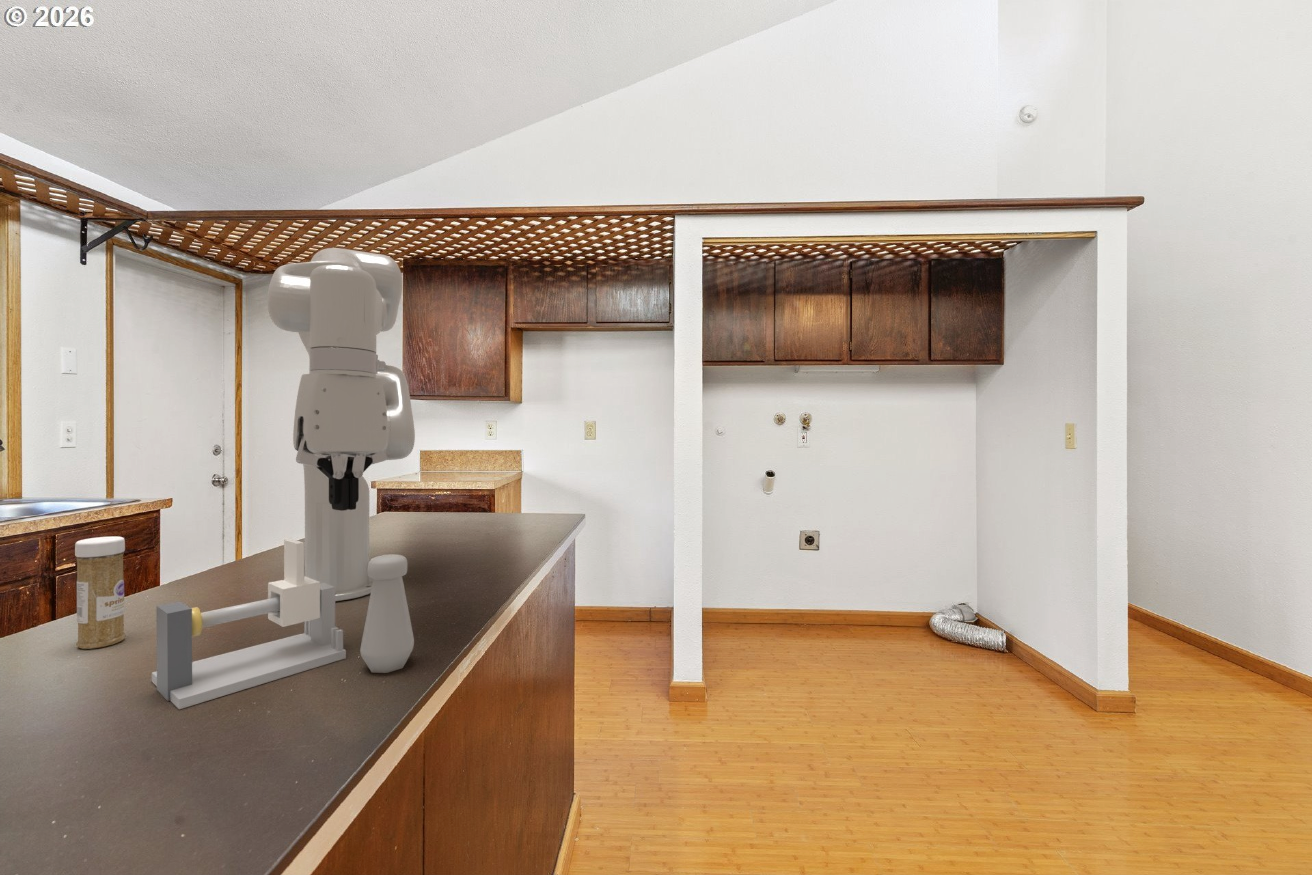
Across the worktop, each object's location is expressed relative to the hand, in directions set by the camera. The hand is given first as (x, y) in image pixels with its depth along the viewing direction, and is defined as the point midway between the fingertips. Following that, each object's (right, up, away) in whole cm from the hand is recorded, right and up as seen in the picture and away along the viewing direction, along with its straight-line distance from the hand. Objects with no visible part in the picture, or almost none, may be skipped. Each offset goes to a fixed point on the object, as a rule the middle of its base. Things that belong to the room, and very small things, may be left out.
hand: (343, 508), depth 73 cm
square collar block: (-4, -13, -4) cm, 14 cm away
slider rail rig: (-6, -18, -7) cm, 20 cm away
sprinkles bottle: (-31, -17, 0) cm, 36 cm away
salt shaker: (+8, -18, -6) cm, 21 cm away
